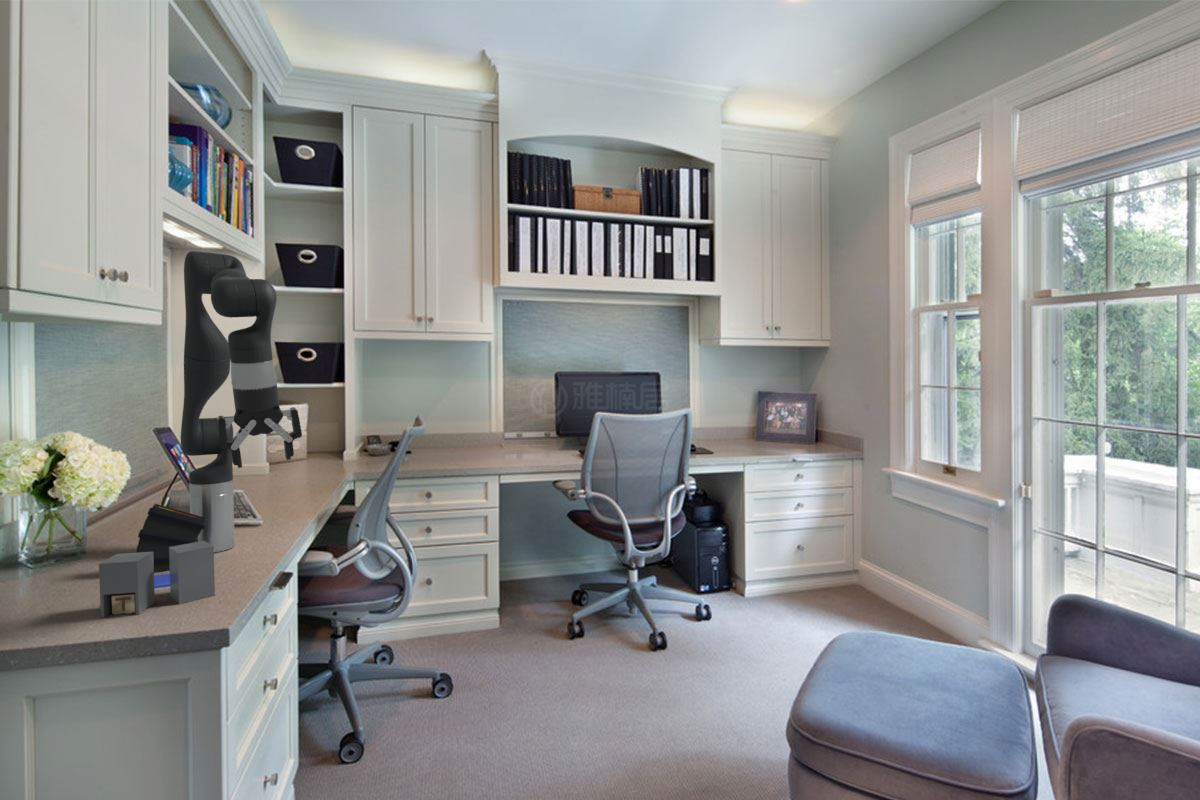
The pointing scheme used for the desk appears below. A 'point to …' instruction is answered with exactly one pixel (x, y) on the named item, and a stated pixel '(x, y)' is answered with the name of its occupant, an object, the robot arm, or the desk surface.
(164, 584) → the hard drive
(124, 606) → the tan cube
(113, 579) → the cube cover
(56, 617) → the desk surface
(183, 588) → the grey tall block
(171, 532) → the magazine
